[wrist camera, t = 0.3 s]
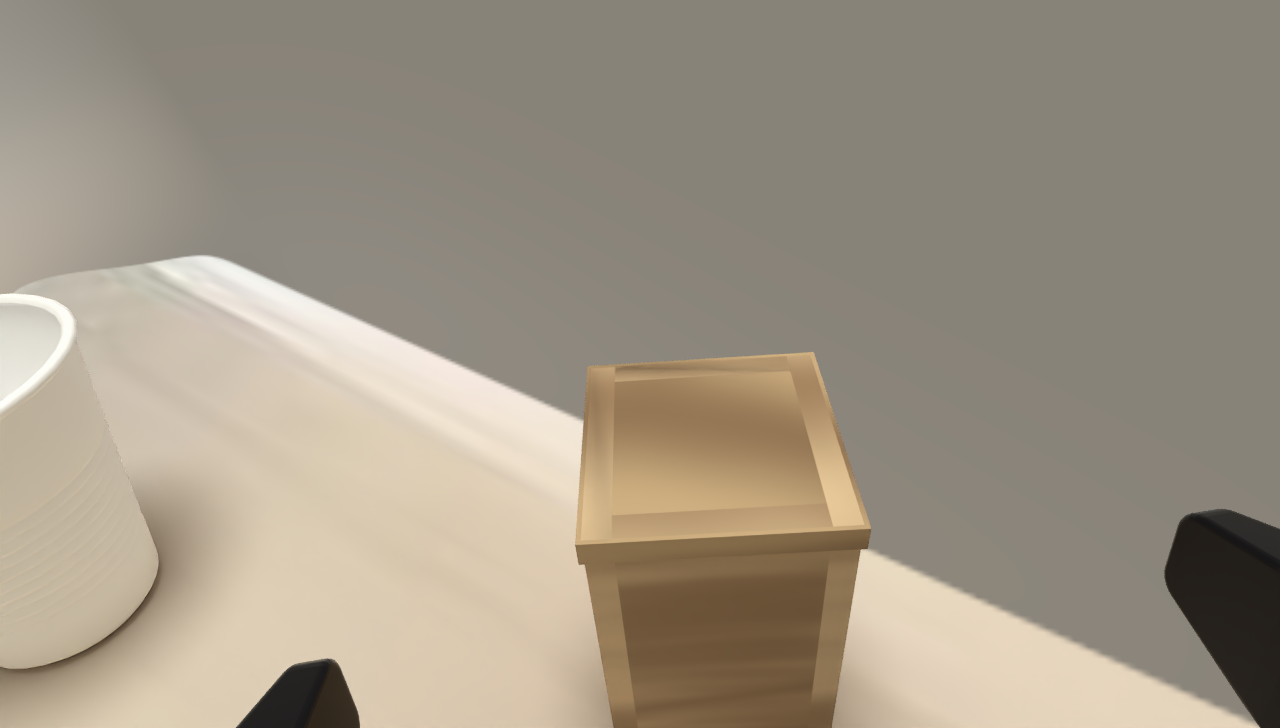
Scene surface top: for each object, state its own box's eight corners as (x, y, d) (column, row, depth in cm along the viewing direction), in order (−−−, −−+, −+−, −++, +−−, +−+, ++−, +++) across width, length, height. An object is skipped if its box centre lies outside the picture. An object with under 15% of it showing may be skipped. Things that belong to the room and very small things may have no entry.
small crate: (823, 805, 22) (871, 528, 15) (625, 814, 22) (575, 544, 15) (789, 630, 26) (813, 352, 19) (625, 638, 27) (587, 366, 19)
